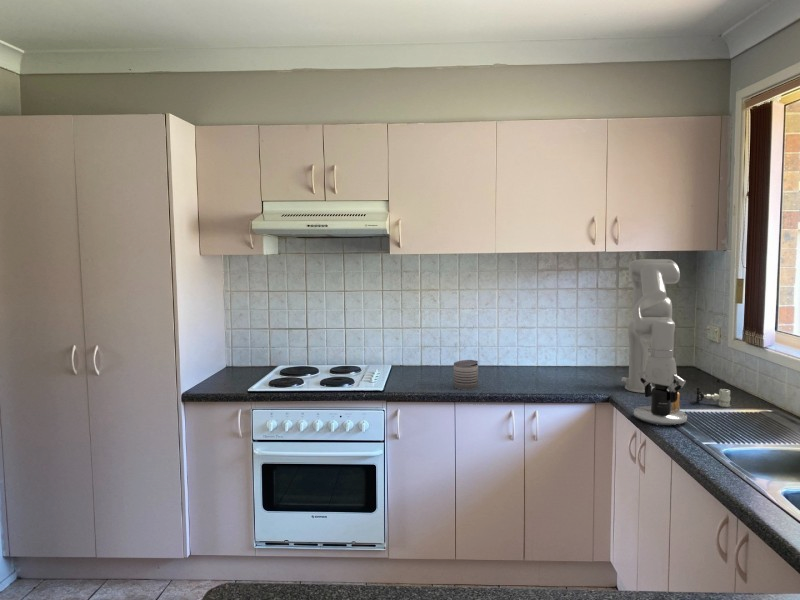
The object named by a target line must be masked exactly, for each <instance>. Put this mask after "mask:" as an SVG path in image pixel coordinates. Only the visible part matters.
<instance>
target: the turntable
mask: <svg viewBox="0 0 800 600" xmlns="http://www.w3.org/2000/svg"><path fill="white" fill-rule="evenodd" d="M680 395H681V393H680V392H679V391H678V394H677V400H676V402H673V403H672V402H671V413H670V414H669V415H657V414H654V413H652V412H651V405H645V406H644V405H643V406H638V407H636V408H634V409H633V416H634V417H635V418H636V419H638V420H640V419H641V420H644V421H647V422H652V423H658V424H679V425H682V424H684V423H687V421H688V414H687V413H685V412H684V411H682V410H681V409H680V408H681V407H680ZM641 420H640V421H641Z"/></svg>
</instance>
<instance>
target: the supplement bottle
mask: <svg viewBox="0 0 800 600" xmlns="http://www.w3.org/2000/svg"><path fill="white" fill-rule="evenodd" d="M653 387H654V388H653V389H652V392H651V396H650V406H651V412H652V413H654V414H657V415H669V414H670V413H671V407H672V402H670V395H671V392H672V390H671V388H670V387H669V386H662V385H657V384H654V386H653Z"/></svg>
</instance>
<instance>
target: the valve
mask: <svg viewBox="0 0 800 600" xmlns="http://www.w3.org/2000/svg"><path fill="white" fill-rule="evenodd" d="M700 390H701V387H696V398H695V399H696V401H695V403H696V404H700V402H702V401H703V400H704V398H706V399H707V400H710V399H712V400H713V401H714V402H717V401H718V406H719V407H723V408H729V407H730V406H731V405H730V403H731V399H732V398H731V390H730V389H726V388H720V389H719V390H718V393H719V394H718V393H715V392H714V394H710V393H706V394H705V393H704V392H702V391H700Z"/></svg>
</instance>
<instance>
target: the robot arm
mask: <svg viewBox="0 0 800 600" xmlns="http://www.w3.org/2000/svg"><path fill="white" fill-rule="evenodd" d="M680 271H681V270H680V268H679V266H678V264H677V263H676V262H675V261H674V260H672V259H669V258H668V259H666V258H665V259H663V258H662V259H661V258H659V259H658V258H657V259H654V258H653V259H652V258H651V259H649V258H644V259H643V258H642V259H634V260H632V261H630V262H629V265H628V274H629V278H630V279H631V283H632V319H633V320H631V321H630V322H629V323H628V325H627V334H628V341H629V345H628V346H629V357H628V358H629V359H628V360H629V361H628V377H625V376H622V377H621V383H625V386H624V388H625V390H626V391H629V392H632V393H633V392H634V393H638V394H639V393H643V394H644V395H645V398H649V397H651V393H652V389H653V388H654V387H655V386H653V385H655V384H657V385H662V386H669V389H670V390H671V391H672V392H671V395H670V402H671V404H672V403H673V402H676V400H677V394H678V392H679V391H680V390H681V389H682V388H683V387H684V386H685V384H686V380H685V379H683V378H682V377H680V376H679V375H678V372H677V363H676V358H675V357H674V346H675V345H674V342H675V341H674V339H675V331H676V323H675V321H674V320H673V304H672V299H671V298H670V297H668V296H667V291H666V290H667V289H666V284H668V285H669V284H671V285H674V284H675V285H676V284H677V283H679V281H680V277H681V272H680ZM647 342H648V343H649V342H650V345H649V344H648V343H647ZM677 382H678V385H677Z"/></svg>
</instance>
